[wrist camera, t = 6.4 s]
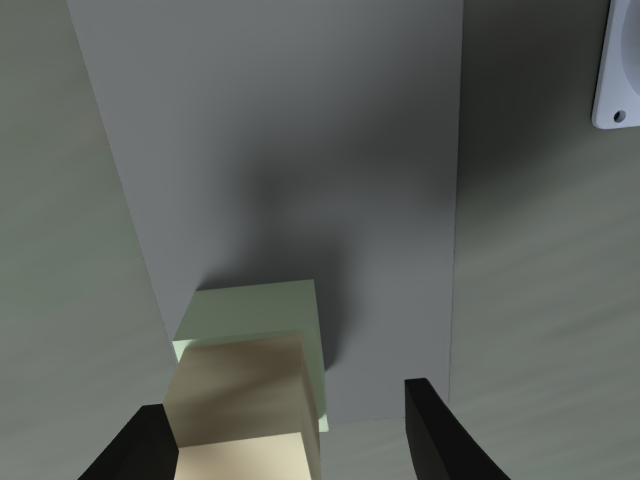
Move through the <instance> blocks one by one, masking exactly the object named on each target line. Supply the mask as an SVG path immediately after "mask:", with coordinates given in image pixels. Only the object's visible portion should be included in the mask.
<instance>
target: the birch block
mask: <svg viewBox="0 0 640 480" xmlns="http://www.w3.org/2000/svg"><path fill="white" fill-rule="evenodd" d="M163 406H164V409H165V412H166V415H167V418H168V421H169V424H170V426H171V429H172V432H173V435H174V438H175V441H176V444H177V447H178V449H179V456H178V462H177V467H176V473H175V477H174V480H321V467H320V441H319V419H318V414H317V409H316V404H315V399H314V394H313V389H312V383H311V378H310V373H309V368H308V363H307V358H306V353H305V348H304V343H303V338H302V333H300V334H292V335H285V336H278V337H271V338H263V339H256V340H249V341H242V342H234V343H227V344H220V345H213V346H205V347H198V348H191V349H184V351H183V353H182V356H181V358H180V361H179V363H178V366H177V368H176V371H175V373H174V376H173V378H172V381H171V384H170V386H169V389H168V391H167V394H166V396H165V399H164V401H163Z"/></svg>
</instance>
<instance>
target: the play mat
mask: <svg viewBox="0 0 640 480" xmlns="http://www.w3.org/2000/svg"><path fill="white" fill-rule="evenodd" d="M66 2H67V6H68V9H69V12H70V15H71V19H72V22H73V25H74V29H75V32H76V35H77V39H78V42H79V45H80V48H81V52H82V55H83V58H84V62H85V65H86V68H87V72H88V75H89V78H90V81H91V85H92V88H93V91H94V95H95V98H96V101H97V105H98V108H99V111H100V114H101V118H102V121H103V124H104V128H105V131H106V134H107V138H108V141H109V144H110V147H111V151H112V154H113V157H114V161H115V164H116V167H117V171H118V174H119V177H120V181H121V184H122V187H123V190H124V194H125V197H126V200H127V204H128V207H129V210H130V214H131V217H132V220H133V223H134V227H135V230H136V233H137V237H138V240H139V243H140V247H141V250H142V253H143V256H144V260H145V263H146V266H147V270H148V273H149V276H150V280H151V283H152V286H153V289H154V293H155V296H156V299H157V303H158V306H159V309H160V313H161V316H162V319H163V322H164V326H165V329H166V332H167V336H168V339H169V342H170V346H171V349H172V352H173V355H174V359H175V362H176V365H177V366H178V359H177V356H176V353H175V349H174V346H173V343H172V341H173V338H174V336H175V334H176V332H177V330H178V327H179V325H180V323H181V321H182V318H183V316H184V314H185V312H186V309H187V307H188V305H189V303H190V301H191V298H192V296H193V294H194V292H195V291H200V290H210V289H220V288H230V287H240V286H250V285H260V284H270V283H280V282H289V281H299V280H309V279H314V285H315V294H316V302H317V310H318V319H319V327H320V336H321V344H322V353H323V361H324V369H325V383H326V399H327V415H328V424H337V423H348V422H358V421H368V420H378V419H389V418H399V417H405V385H404V380H405V379H415V378H426V379H428V380H429V381H430V383H431V385H432V386H433V388H434V389H435V391H436V392H437V394H438V395H439V396H440V398H441V399H442V401H443V402H444V403H445V405H446V406H447V407H448V397H449V371H450V345H451V318H452V292H453V266H454V239H455V213H456V187H457V160H458V134H459V108H460V81H461V55H462V29H463V3H464V0H66Z"/></svg>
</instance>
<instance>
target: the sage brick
mask: <svg viewBox="0 0 640 480" xmlns="http://www.w3.org/2000/svg"><path fill="white" fill-rule="evenodd" d="M300 333H302V338H303V343H304V348H305V353H306V358H307V363H308V368H309V373H310V378H311V383H312V389H313V394H314V399H315V404H316V409H317V414H318V419H319V432H324V431H328V415H327V399H326V383H325V369H324V361H323V353H322V344H321V336H320V327H319V319H318V310H317V302H316V294H315V285H314V279H309V280H299V281H289V282H280V283H270V284H260V285H250V286H240V287H230V288H220V289H210V290H200V291H195V292H194V294H193V296H192V298H191V301H190V303H189V305H188V307H187V309H186V312H185V314H184V316H183V318H182V321H181V323H180V325H179V327H178V330H177V332H176V334H175V336H174V338H173V341H172V343H173V346H174V349H175V353H176V356H177V359H178V363H179V361H180V358H181V356H182V353H183V351H184V349H191V348H198V347H205V346H213V345H220V344H227V343H234V342H242V341H249V340H256V339H263V338H271V337H278V336H285V335H292V334H300Z"/></svg>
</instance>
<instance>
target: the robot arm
mask: <svg viewBox="0 0 640 480" xmlns="http://www.w3.org/2000/svg"><path fill="white" fill-rule="evenodd" d="M618 111H620V115H619V118H618V119H617V120H615V121H614V115H615V114H616V113H617V112H618ZM592 123H593V125H594V126H595V127H597V128H600V129H613V128H623V127H632V126H640V0H611V4H610V10H609V16H608V22H607V28H606V34H605V40H604V46H603V52H602V59H601V65H600V71H599V77H598V83H597V89H596V95H595V101H594V107H593V113H592ZM404 385H405V422H406V433H407V438H408V443H409V448H410V453H411V457H412V462H413V466H414V469H415V472H416V476H417V479H418V480H511V479H510V478H509V477H508V476H507V475H506V474H505V473H504V472H503V471H502V470H501V469H500V468H499V467H498V466H497V465H496V464H495V463H494V462H493V461H492V460H491V458H490V457H489V456H488V455H487V454H486V453H485V452H484V451H483V450H482V449H481V448H480V446H479V445H478V444H477V443H476V442H475V441H474V440H473V438H472V437H471V436H470V435H469V434H468V432H467V431H466V430H465V429H464V428H463V426H462V425H461V424H460V423H459V422H458V420H457V419H456V418H455V416H454V415H453V414H452V413H451V411H450V410H449V409H448V407H447V406H446V405H445V403H444V402H443V401H442V399H441V398H440V396H439V395H438V394H437V392H436V391H435V389H434V388H433V386H432V385H431V383H430V381H429V380H428V379H426V378H415V379H405V380H404ZM178 456H179V449H178V447H177V444H176V441H175V438H174V435H173V432H172V429H171V426H170V424H169V421H168V418H167V415H166V412H165V409H164V406H163V404H155V405H145V406H142V407H141V408H140V409H139V410H138V411H137V413H136V414H135V415H134V416H133V417H132V418H131V419H130V421H129V422H128V423H127V424H126V425H125V426H124V428H123V429H122V430H121V431H120V432H119V433H118V435H117V436H116V437H115V438H114V439H113V440H112V442H111V443H110V444H109V445H108V446H107V447H106V448H105V450H104V451H103V452H102V453H101V454H100V455H99V456H98V458H97V459H96V460H95V461H94V462H93V463H92V464H91V465H90V467H89V468H88V469H87V470H86V471H85V472H84V473H83V474H82V475H81V476H80V477H79V478H78V480H174V477H175V473H176V467H177V462H178Z"/></svg>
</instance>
